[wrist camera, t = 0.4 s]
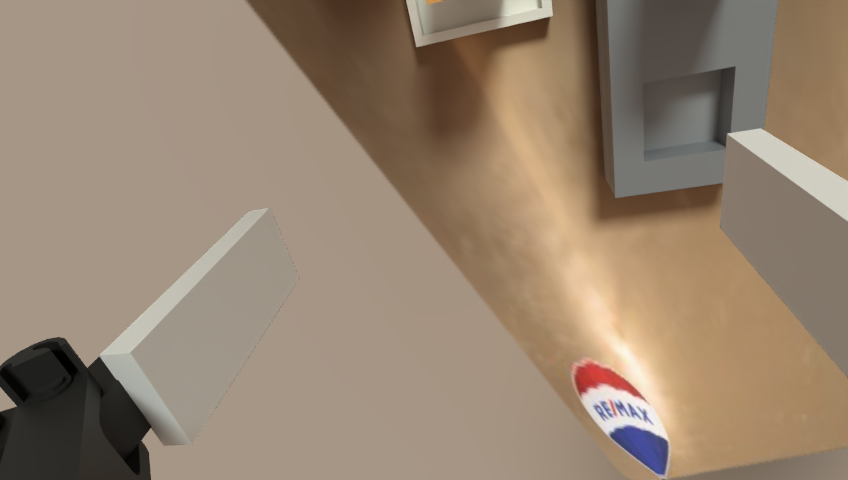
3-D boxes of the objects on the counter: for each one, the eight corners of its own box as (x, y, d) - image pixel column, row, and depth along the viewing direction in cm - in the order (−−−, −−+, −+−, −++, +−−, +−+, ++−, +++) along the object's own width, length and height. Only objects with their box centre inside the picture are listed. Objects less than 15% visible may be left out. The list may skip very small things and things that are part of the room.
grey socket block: (588, -137, 28) (600, -153, 24) (760, -188, 26) (801, -214, 22) (604, 176, 37) (615, 198, 33) (733, 157, 35) (758, 178, 31)
